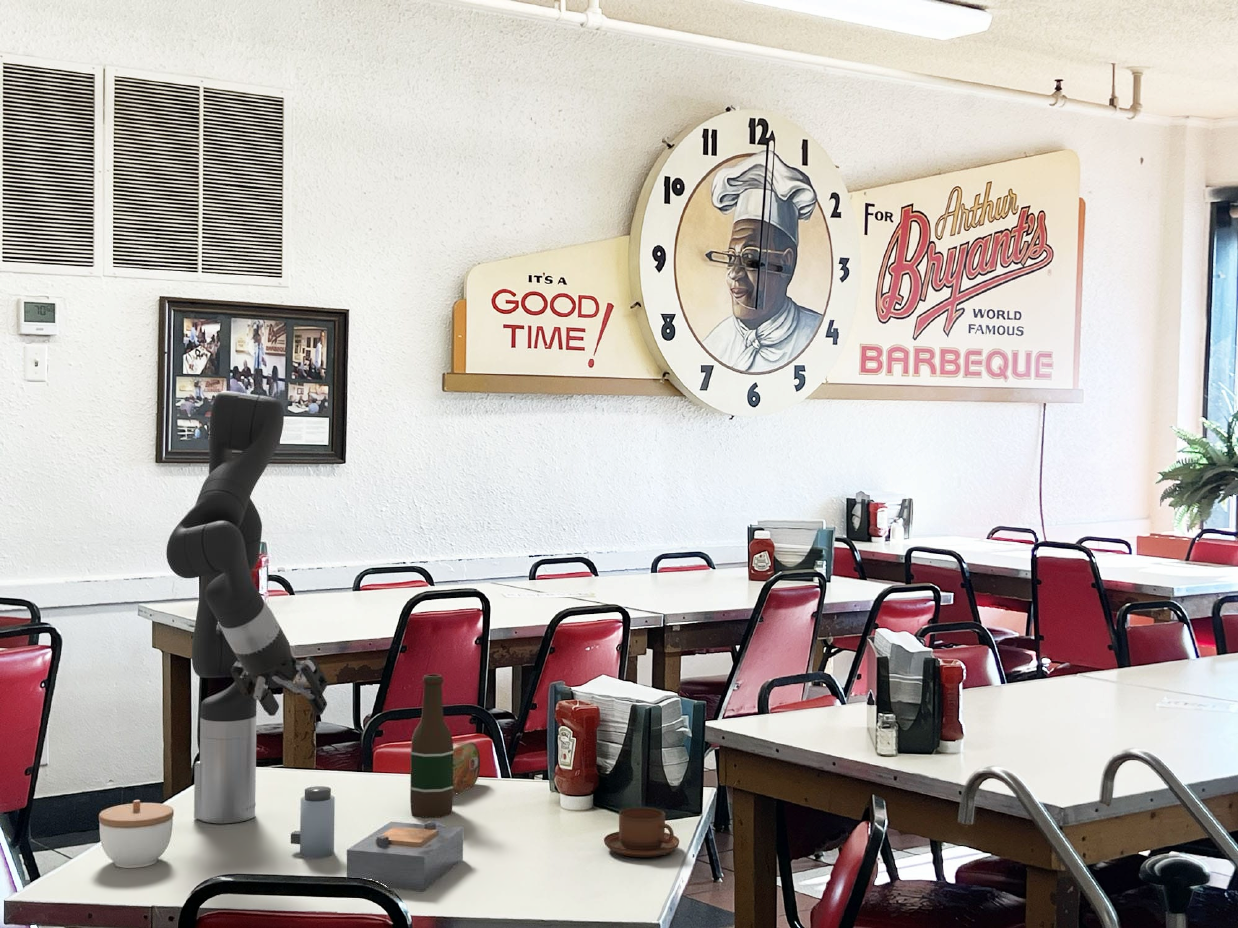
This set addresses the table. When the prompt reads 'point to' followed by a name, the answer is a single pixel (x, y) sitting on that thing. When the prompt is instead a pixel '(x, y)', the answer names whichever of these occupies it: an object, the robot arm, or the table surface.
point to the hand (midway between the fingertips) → (298, 711)
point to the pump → (316, 823)
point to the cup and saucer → (642, 834)
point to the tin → (465, 766)
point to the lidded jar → (136, 833)
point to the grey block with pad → (407, 854)
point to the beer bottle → (431, 756)
